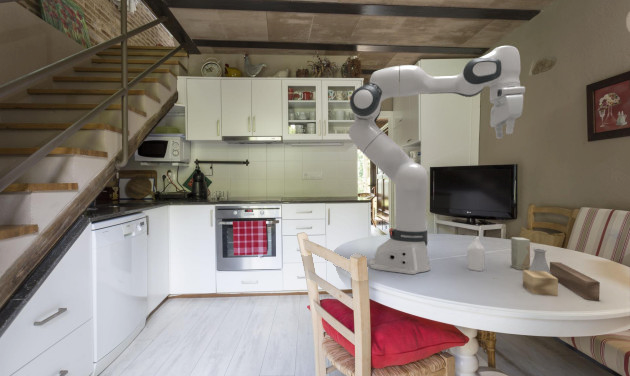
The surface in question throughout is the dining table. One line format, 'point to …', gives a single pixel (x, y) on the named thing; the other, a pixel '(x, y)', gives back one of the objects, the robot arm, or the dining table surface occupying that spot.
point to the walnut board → (576, 281)
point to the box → (520, 253)
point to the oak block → (540, 282)
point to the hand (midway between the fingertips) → (504, 135)
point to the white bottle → (475, 256)
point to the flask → (539, 261)
